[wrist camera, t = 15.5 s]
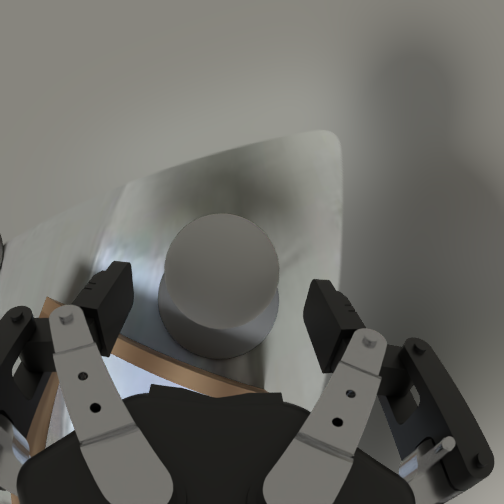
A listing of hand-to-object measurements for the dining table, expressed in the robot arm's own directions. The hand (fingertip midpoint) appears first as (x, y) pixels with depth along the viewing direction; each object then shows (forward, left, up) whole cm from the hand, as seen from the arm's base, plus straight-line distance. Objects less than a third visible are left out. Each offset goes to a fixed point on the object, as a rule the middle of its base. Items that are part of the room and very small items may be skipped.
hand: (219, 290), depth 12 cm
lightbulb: (0, +2, -11) cm, 11 cm away
